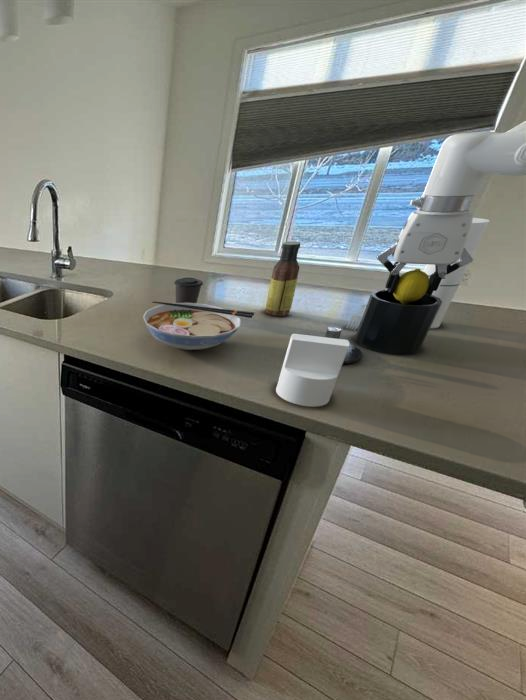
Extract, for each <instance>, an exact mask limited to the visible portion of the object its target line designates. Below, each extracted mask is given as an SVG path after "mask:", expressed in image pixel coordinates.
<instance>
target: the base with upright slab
mask: <svg viewBox="0 0 526 700" xmlns="http://www.w3.org/2000/svg"><path fill="white" fill-rule="evenodd" d="M350 344H351V343H350V341H349V340H348V339H343V338H339V339H335V338H327V337H325V336H317V335H310V334H309V335H308V334H300V333H292V334H291V335H290V339H289V342H288V346H287V350H286V352H285V356H284V359H283V363H282V366H281V370H280V374H279V377H278V381H277V384H276V388H275V392H276V394H277V395H278V396H279V397H280V398H281V399H282V400H285V401H286V402H288V403H291V404H295V405H297V406H303V407H312V408H315V407H323V406H324V405H327V404H328V403H329V402H330V400H331V397H332V395H333V391H334V389H335V386H336V383H337V380H338V377H339V375H340V372H341V369H342V366H343V365H344V363H343V361H344V359H345V356H346V353H347V350H348V348H349V345H350Z"/></svg>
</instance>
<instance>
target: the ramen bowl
mask: <svg viewBox="0 0 526 700" xmlns="http://www.w3.org/2000/svg"><path fill="white" fill-rule="evenodd" d="M151 303H152V304H158V305H156V306H154V307H151V308H149V309H147V310H146V311H145V312H144V314H143V315H142V319H143V320H144V323H145V326H146V328H147V330H148V331H149V333H150V334H151V335H152V337H153V338H154V339H156V340H157V341H159V342H161V343H163V344H164V345H166V346H169V347H172V348H176V349H179V350H183V351H194V350H204V349H209V348H214V347H216V346H218V345H220V344H221V343H223V342H225V341H226V340H227V339H229V338H230V337H232V335H234V334H235V333H236V332H237V331H238V330H239V328H240V327H241V322H242V318H248V319H252V318H253V316H255V312H253V311H244V310H235V309H226V308H224V307H220V306H216V305H212V304H206V303H198V302H197V303H176V302H172V303H171V302H163V301H162V302H161V301H154V300H153V301H152V302H151ZM240 317H242V318H240Z"/></svg>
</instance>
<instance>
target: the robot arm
mask: <svg viewBox="0 0 526 700" xmlns="http://www.w3.org/2000/svg"><path fill="white" fill-rule="evenodd" d="M485 175H497V176H511V177H519V176H520V177H521V176H526V120H524V121H523V122H521V123H519V124H518V125H515V126H514V127H513V128H511V129H509V130H507V131H506V132H496V131H474V132H463V133H462V132H461V133H456V134H452V135H450V136H448V137H447V138H446V139H445V140H444V141H443V142H442V145H441V146H440V148H439V152H438V153H437V157H436V158H435V162H434V165H433V167H432V170H431V173H430V175H429V177H428V181H427V183H426V186H425V188H424V191H423V193H422V194H421V196H420V197H419V198H412V199H411V200H410V203H409V207H415V208H416V210H413V211H412V212H411V214H410V215H409V217H408V218H407V219H406V222H405V223H404V225H403V226H402V229H401V231H400V233H399V235H398V238H397V239H396V241H395V243H394V244H392V245H390V246H389V247H388V248H386V249H385V250H383V251H382V252H380V253H379V254H377V255H376V259H377V260H378V262H379V263H380V264H382V266H384V268H385V269H386V270H387V271H388V273H389V275H388V278H387V280H386V283H385V286H384V287H385V289H387V290H388V292H389V293H394V291H395V288H396V286H397V283H398V281H399V278H400V276H401V275H400V272H401V271H402V270H403V269H404V267H405V266H406V265H408V264H409V265H426V264H433V265H435V272H434V274H432V275H430V278H429V287H428V289H427V291H426V295H428V296H431V295H432V293H433V291H436V290H437V289H438V286H439V284H440V282H441V280H442V277H445V276H446V275H447V274H449V273H451V272H453V271H455V270H457V269H458V268H460V267H462V266H464V265H466V264H468V263H469V264H471V263H473V261H474V258H473V257H471V256H470V254H469V253H468V252H467V250H466V249H465V248H464V246H465V243H466V241H467V238H468V235H469V232H470V228H471V224H472V220H473V218H474V212H473V211H470V208H471V207H472V204H473V202H474V200H475V198H476V195H477V193H478V191H479V189H480V186H481V184H482V182H483V179H484V178H485ZM390 256H392V258H393V260H394V263H392V262H391V260H390V259H388V258H389V257H390ZM459 258H460V259H459ZM446 265H447V266H446Z"/></svg>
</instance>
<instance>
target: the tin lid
mask: <svg viewBox="0 0 526 700" xmlns="http://www.w3.org/2000/svg"><path fill="white" fill-rule="evenodd" d="M342 330H343V329H341V328H340V327H336V326H328V327H327V328H326V332H325V335H324V337H327V338H335V339H340V336H341V334H342ZM363 354H364V353H363V351H362V350H361V349H360V348H358V347H357V346H355V345H353V344H351V343H350V345H349V348H348V350H347V353H346V356H345V359H344V361H343V364H352V363H357V362H359V361H360V360H362V358H363Z"/></svg>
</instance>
